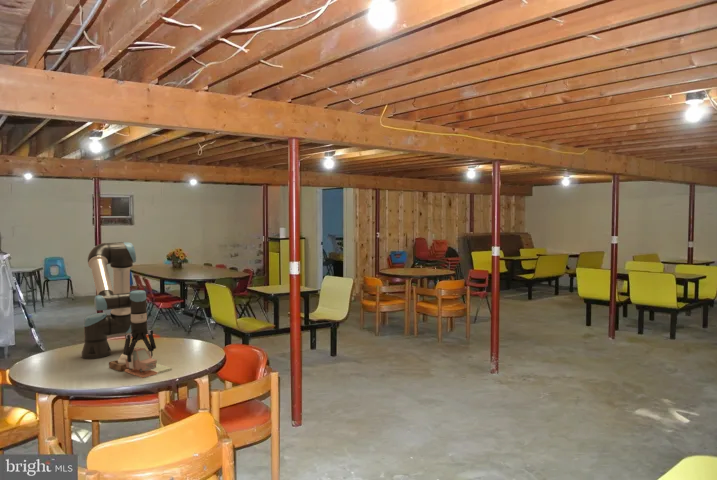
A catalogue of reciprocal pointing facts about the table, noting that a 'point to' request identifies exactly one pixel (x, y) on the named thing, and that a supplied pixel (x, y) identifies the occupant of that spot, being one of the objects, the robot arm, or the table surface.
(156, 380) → the table surface
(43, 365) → the table surface
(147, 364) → the toy car
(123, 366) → the dome housing
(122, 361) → the dome
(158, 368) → the board
